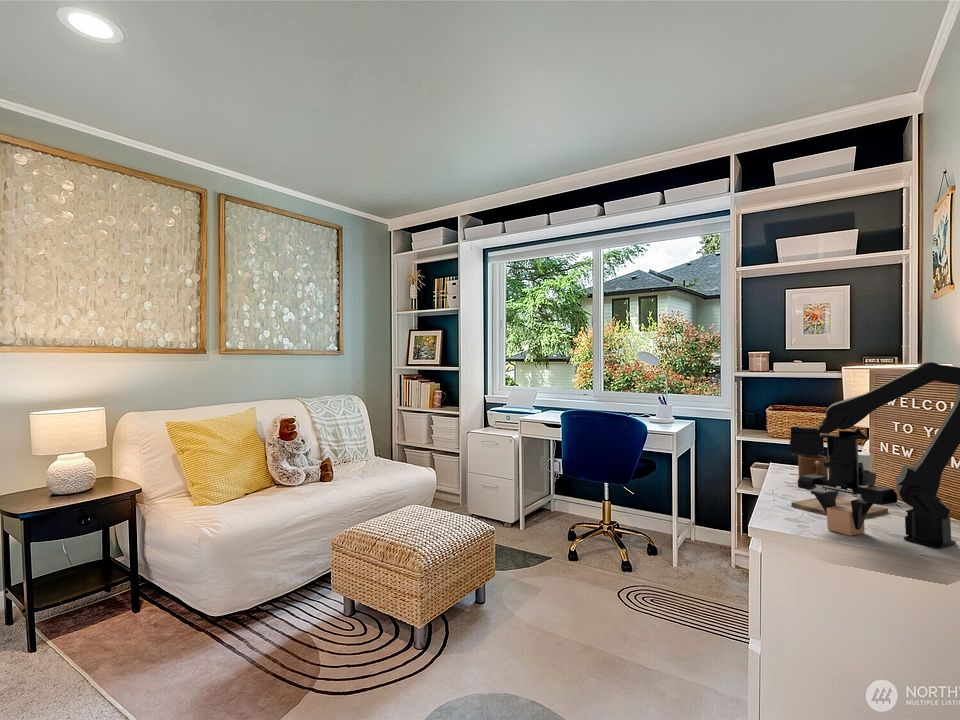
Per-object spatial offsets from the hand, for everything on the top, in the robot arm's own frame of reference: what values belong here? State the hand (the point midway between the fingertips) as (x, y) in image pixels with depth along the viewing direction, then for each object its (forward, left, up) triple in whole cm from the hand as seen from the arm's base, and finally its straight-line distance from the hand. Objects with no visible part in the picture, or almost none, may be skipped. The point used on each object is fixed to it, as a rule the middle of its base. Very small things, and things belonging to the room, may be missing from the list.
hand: (845, 526), depth 116 cm
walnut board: (+12, -16, -1) cm, 20 cm away
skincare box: (+18, -36, -2) cm, 40 cm away
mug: (+29, -32, -2) cm, 43 cm away
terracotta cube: (0, 0, -1) cm, 1 cm away
